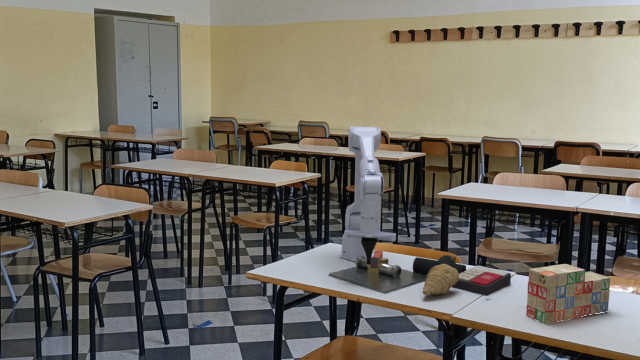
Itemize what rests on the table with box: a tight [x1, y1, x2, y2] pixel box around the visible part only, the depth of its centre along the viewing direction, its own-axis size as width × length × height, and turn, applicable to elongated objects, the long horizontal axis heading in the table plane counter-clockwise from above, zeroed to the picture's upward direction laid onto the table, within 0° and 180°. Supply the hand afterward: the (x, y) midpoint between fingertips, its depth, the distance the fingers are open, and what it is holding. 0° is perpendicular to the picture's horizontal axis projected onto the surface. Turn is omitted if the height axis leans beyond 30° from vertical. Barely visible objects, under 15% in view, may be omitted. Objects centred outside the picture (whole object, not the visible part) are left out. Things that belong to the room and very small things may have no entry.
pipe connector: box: [412, 254, 467, 276], centre depth 183 cm, size 12×5×15 cm
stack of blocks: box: [525, 263, 611, 325], centre depth 149 cm, size 21×6×12 cm, turn 115°
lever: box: [370, 249, 384, 269], centre depth 176 cm, size 13×3×2 cm, turn 169°
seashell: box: [421, 264, 459, 296], centre depth 162 cm, size 14×8×8 cm, turn 148°
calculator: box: [451, 265, 512, 297], centre depth 172 cm, size 11×4×15 cm
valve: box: [328, 256, 427, 294], centre depth 178 cm, size 22×21×5 cm
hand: (369, 263), depth 172 cm, fingers closed
